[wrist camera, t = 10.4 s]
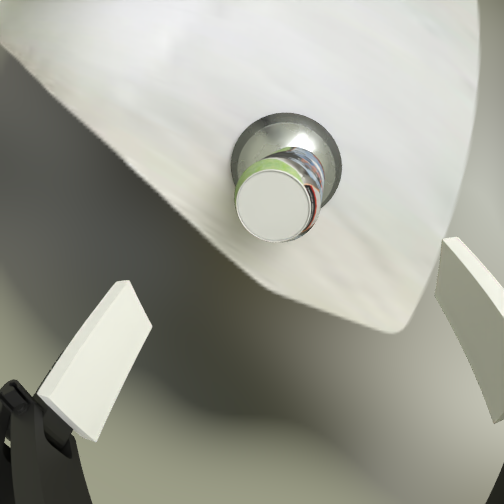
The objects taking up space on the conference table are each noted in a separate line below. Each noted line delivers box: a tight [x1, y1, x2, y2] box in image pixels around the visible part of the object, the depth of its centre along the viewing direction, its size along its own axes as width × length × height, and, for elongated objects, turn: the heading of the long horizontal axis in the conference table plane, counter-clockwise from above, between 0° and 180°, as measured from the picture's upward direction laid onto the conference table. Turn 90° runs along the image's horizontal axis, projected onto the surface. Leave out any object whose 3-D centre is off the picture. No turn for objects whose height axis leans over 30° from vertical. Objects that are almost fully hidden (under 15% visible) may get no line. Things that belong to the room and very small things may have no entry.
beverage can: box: [234, 146, 325, 242], centre depth 23 cm, size 6×7×12 cm
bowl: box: [231, 113, 342, 209], centre depth 30 cm, size 12×12×2 cm
